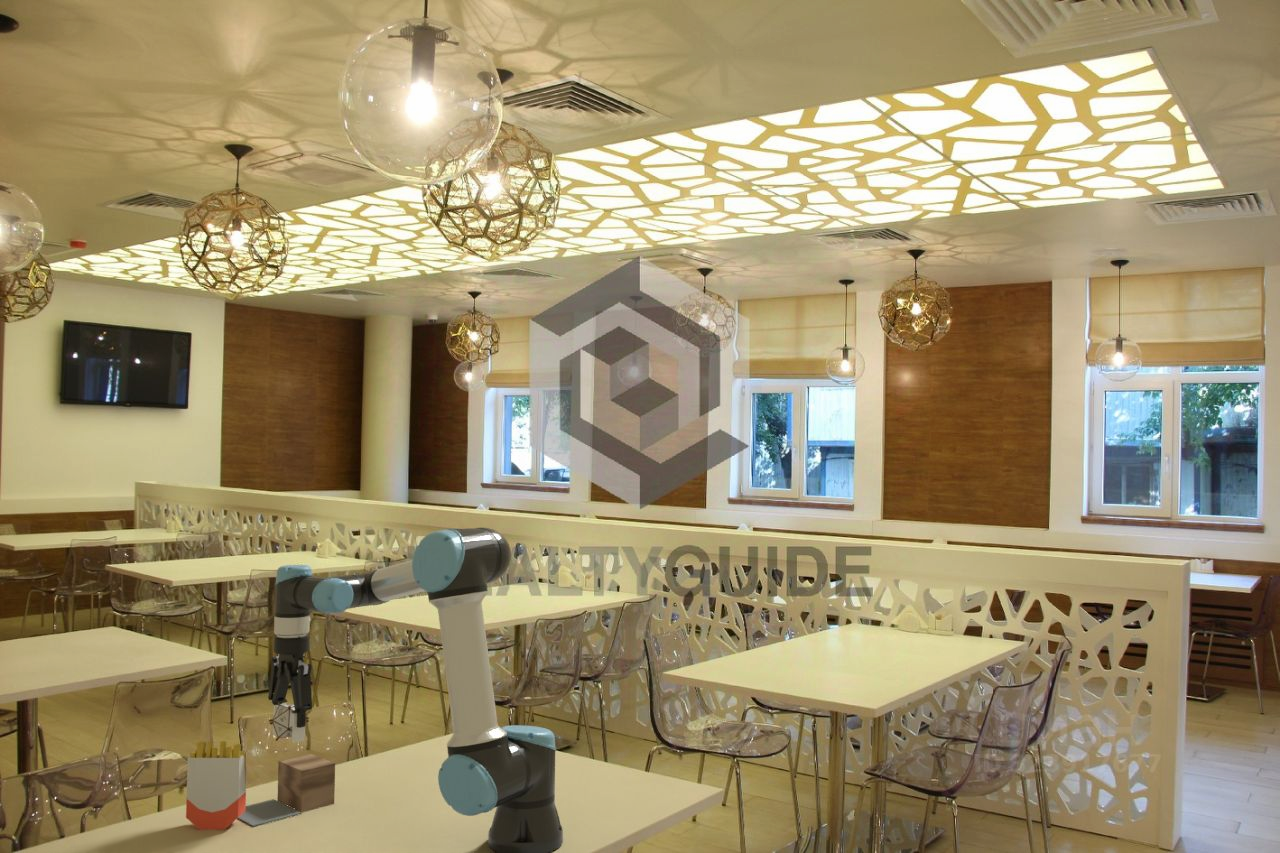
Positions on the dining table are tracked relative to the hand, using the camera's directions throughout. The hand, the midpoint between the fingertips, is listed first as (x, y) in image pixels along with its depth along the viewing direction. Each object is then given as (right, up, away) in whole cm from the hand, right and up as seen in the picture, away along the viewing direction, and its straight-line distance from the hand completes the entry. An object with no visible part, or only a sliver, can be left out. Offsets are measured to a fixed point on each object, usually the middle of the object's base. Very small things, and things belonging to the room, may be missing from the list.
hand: (288, 737), depth 217 cm
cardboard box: (+2, -16, +5) cm, 17 cm away
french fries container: (-12, -16, -10) cm, 22 cm away
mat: (-5, -16, -2) cm, 17 cm away
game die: (0, 0, 0) cm, 0 cm away
